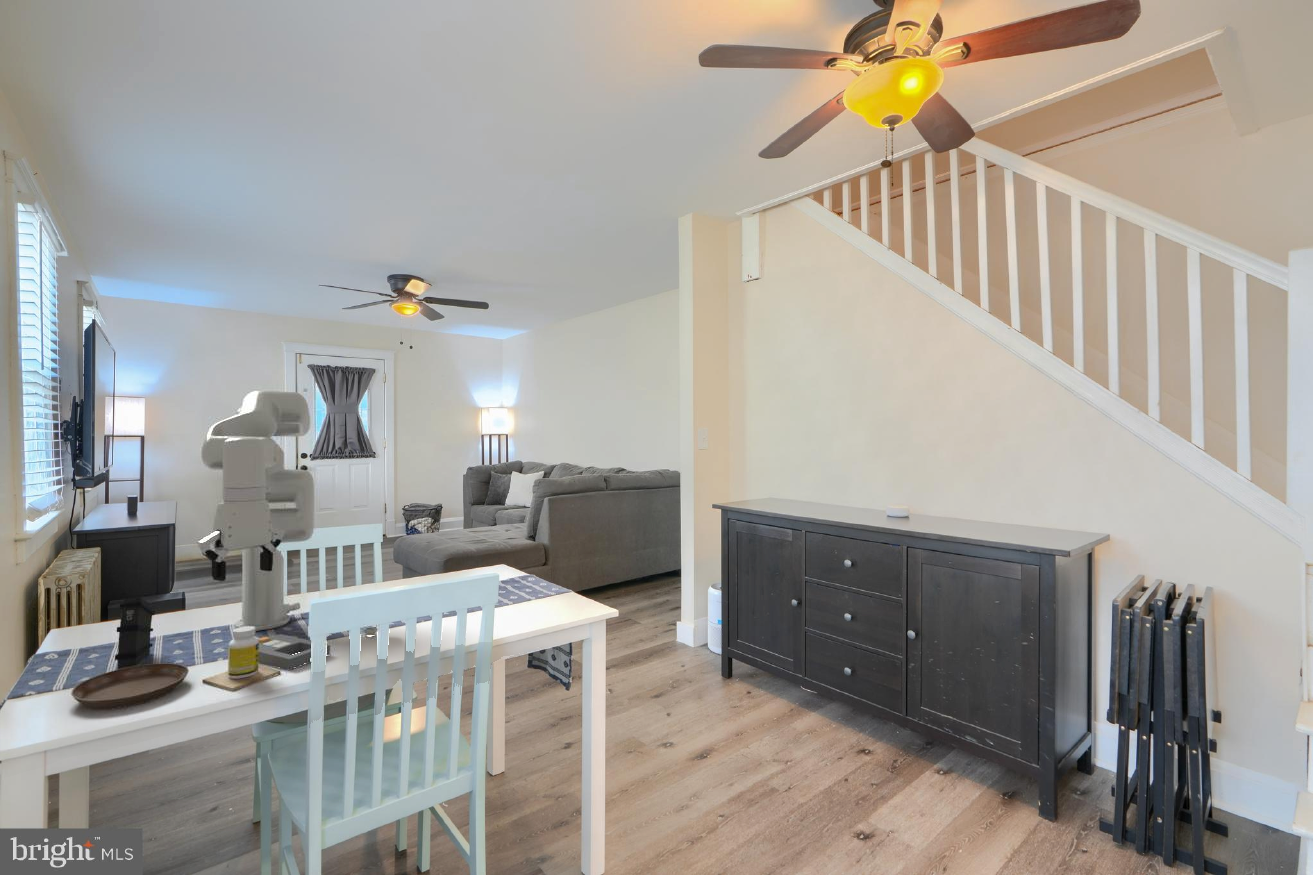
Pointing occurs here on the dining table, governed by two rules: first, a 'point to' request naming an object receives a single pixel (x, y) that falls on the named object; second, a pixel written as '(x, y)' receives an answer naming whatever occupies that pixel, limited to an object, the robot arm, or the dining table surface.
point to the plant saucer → (129, 685)
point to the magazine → (134, 632)
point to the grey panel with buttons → (285, 651)
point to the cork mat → (234, 684)
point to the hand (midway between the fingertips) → (243, 575)
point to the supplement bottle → (243, 653)
